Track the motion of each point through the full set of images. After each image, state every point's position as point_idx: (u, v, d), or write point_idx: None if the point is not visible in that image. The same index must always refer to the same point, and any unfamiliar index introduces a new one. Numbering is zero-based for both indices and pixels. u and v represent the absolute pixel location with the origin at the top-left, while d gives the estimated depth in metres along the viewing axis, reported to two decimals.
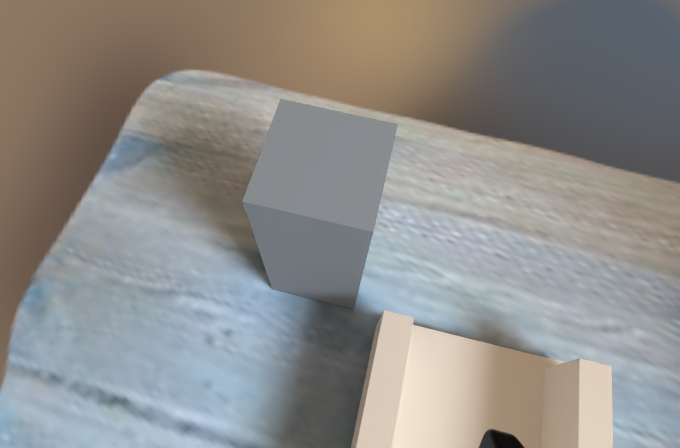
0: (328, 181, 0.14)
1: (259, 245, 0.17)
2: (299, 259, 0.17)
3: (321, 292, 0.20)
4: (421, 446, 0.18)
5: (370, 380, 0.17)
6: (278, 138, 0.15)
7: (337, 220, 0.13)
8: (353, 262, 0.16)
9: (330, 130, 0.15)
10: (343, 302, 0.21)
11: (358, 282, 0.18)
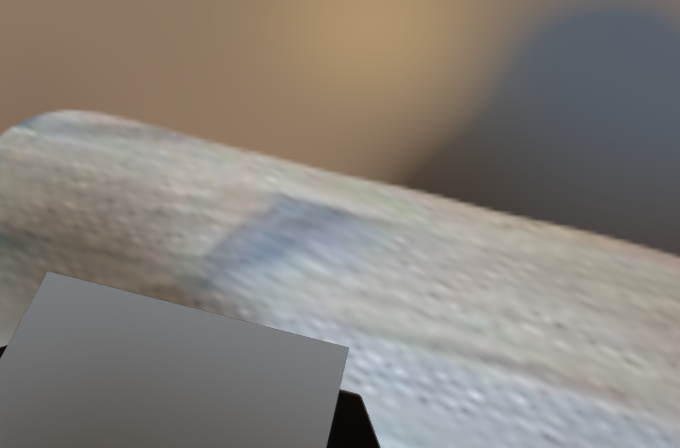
0: None
1: None
2: None
3: None
4: None
5: None
6: (11, 402, 0.05)
7: None
8: None
9: (163, 372, 0.05)
10: None
11: None
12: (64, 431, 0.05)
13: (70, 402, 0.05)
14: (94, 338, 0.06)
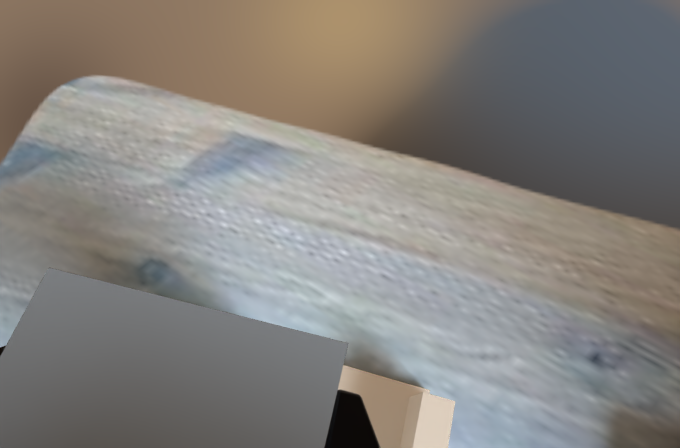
0: None
1: None
2: None
3: None
4: None
5: None
6: (12, 397, 0.05)
7: None
8: None
9: (163, 367, 0.05)
10: None
11: None
12: (65, 426, 0.05)
13: (71, 397, 0.05)
14: (95, 334, 0.06)
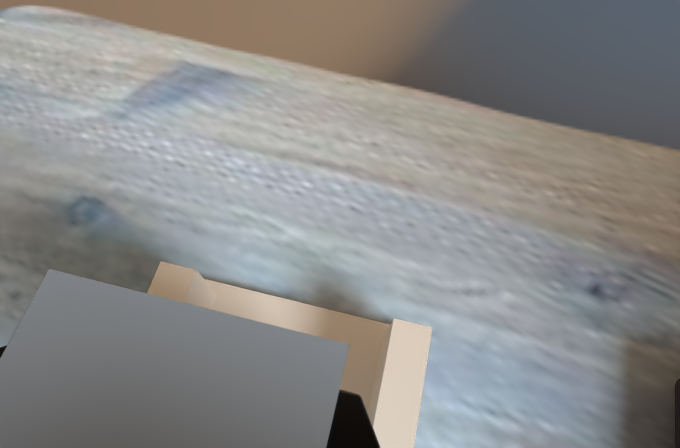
0: None
1: None
2: None
3: None
4: None
5: None
6: (11, 400, 0.05)
7: None
8: None
9: (164, 369, 0.05)
10: None
11: None
12: (65, 428, 0.05)
13: (71, 399, 0.05)
14: (95, 335, 0.06)
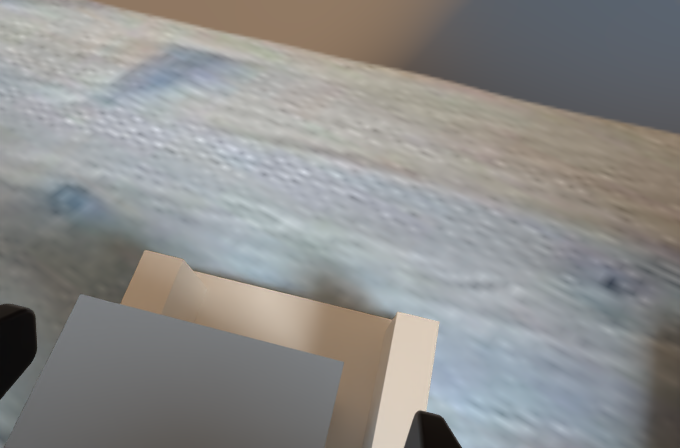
0: None
1: None
2: None
3: None
4: None
5: None
6: (51, 410, 0.06)
7: None
8: None
9: (182, 384, 0.06)
10: None
11: None
12: (99, 435, 0.06)
13: (103, 409, 0.06)
14: (122, 353, 0.06)
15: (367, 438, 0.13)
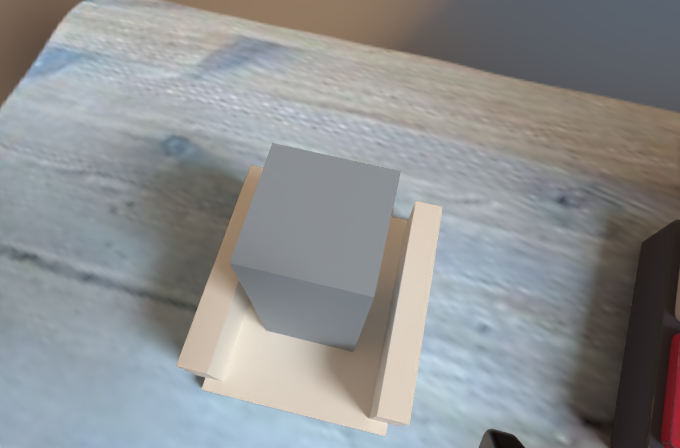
0: (324, 238, 0.13)
1: (251, 297, 0.15)
2: (294, 311, 0.16)
3: (318, 337, 0.19)
4: None
5: (232, 217, 0.19)
6: (269, 188, 0.13)
7: (334, 283, 0.12)
8: (352, 318, 0.15)
9: (326, 179, 0.13)
10: (342, 346, 0.19)
11: (358, 333, 0.16)
12: (292, 197, 0.13)
13: (292, 188, 0.13)
14: (297, 167, 0.14)
15: (396, 283, 0.20)
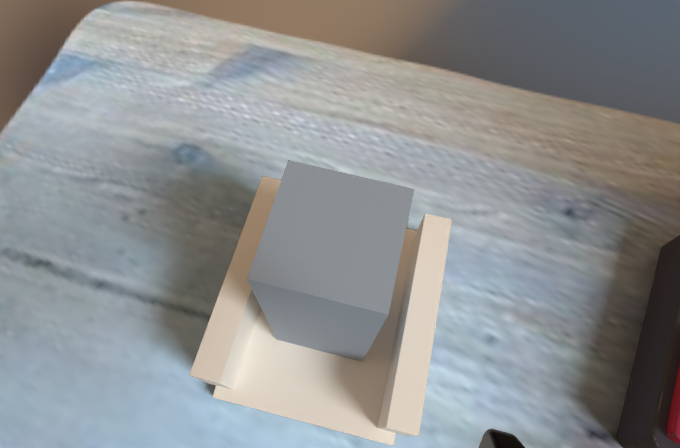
0: (340, 255, 0.13)
1: (264, 310, 0.16)
2: (306, 323, 0.16)
3: (328, 347, 0.19)
4: None
5: (244, 227, 0.20)
6: (286, 205, 0.14)
7: (349, 301, 0.12)
8: (365, 332, 0.15)
9: (341, 196, 0.14)
10: (351, 356, 0.20)
11: (369, 345, 0.17)
12: (308, 214, 0.13)
13: (308, 205, 0.14)
14: (312, 184, 0.14)
15: (405, 294, 0.20)
